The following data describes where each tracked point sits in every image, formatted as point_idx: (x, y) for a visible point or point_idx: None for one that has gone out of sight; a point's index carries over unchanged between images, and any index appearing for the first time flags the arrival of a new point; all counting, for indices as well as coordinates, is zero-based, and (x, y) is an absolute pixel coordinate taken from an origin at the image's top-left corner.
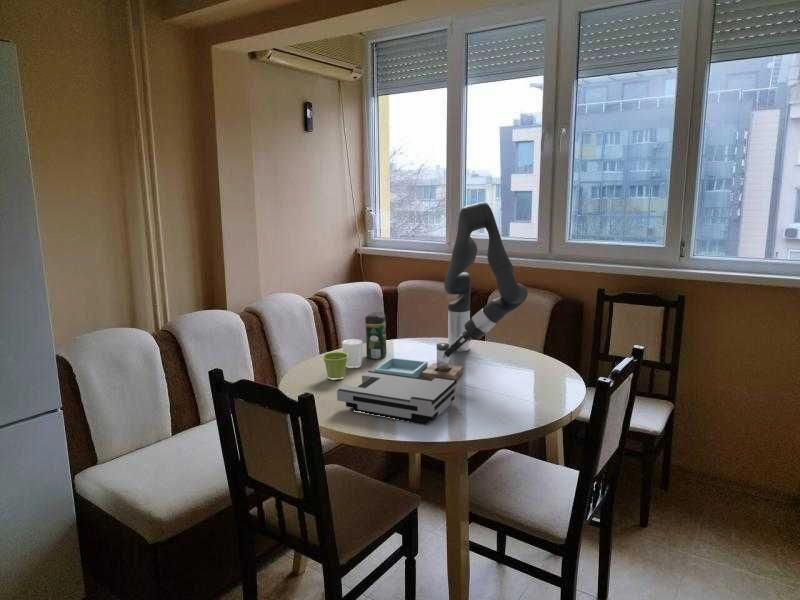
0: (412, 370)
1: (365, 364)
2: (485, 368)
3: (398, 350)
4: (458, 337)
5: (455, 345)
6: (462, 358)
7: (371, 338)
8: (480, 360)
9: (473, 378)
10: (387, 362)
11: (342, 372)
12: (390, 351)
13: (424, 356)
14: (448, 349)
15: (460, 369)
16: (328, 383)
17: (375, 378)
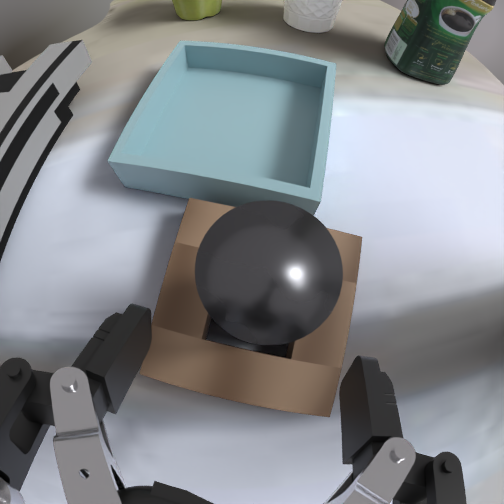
0: (278, 156)
1: (333, 39)
2: None
3: (487, 121)
4: (69, 502)
5: (358, 398)
6: (498, 355)
7: (408, 3)
8: (481, 433)
9: (235, 463)
10: (277, 57)
11: (181, 4)
12: (470, 100)
13: (482, 198)
14: (105, 344)
15: (272, 408)
16: (160, 12)
17: (12, 82)
